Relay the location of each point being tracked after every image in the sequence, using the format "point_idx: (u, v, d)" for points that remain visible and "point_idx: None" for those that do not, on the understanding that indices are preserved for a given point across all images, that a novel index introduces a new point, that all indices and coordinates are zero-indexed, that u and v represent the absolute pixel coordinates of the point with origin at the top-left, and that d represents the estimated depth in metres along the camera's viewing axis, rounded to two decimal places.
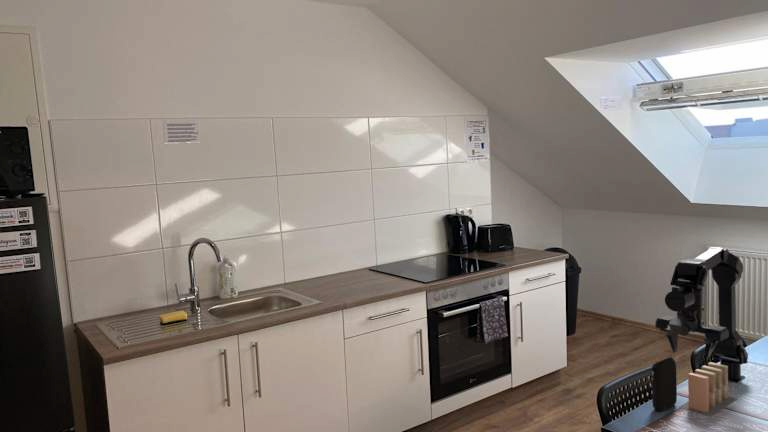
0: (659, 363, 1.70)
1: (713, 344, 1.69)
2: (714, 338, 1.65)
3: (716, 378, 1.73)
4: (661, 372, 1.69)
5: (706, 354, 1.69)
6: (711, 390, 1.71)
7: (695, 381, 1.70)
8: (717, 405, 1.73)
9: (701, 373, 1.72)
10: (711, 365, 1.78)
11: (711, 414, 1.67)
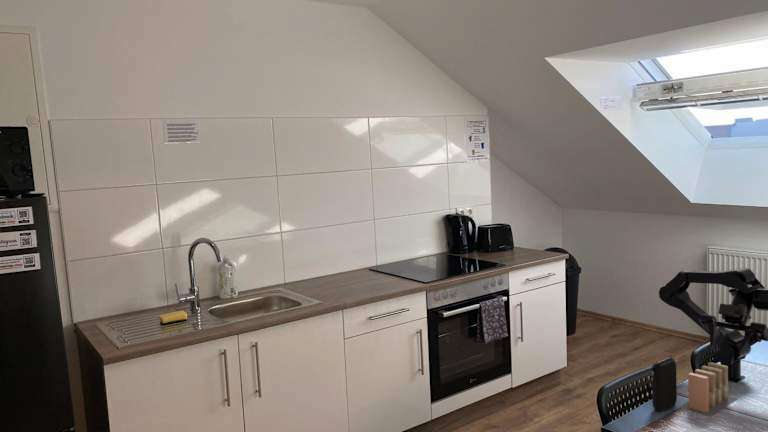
0: (659, 363, 1.70)
1: (750, 342, 1.77)
2: (758, 327, 1.74)
3: (716, 378, 1.73)
4: (661, 372, 1.69)
5: (741, 346, 1.76)
6: (711, 390, 1.71)
7: (695, 381, 1.70)
8: (717, 405, 1.73)
9: (701, 373, 1.72)
10: (711, 365, 1.78)
11: (711, 414, 1.67)
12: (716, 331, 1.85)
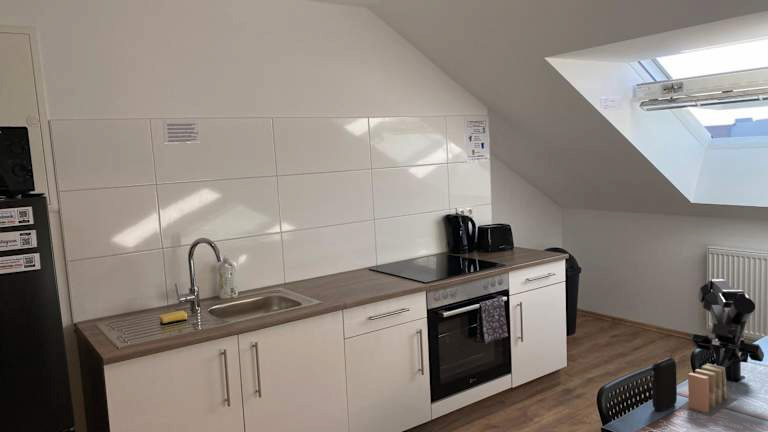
0: (659, 363, 1.70)
1: (729, 360, 1.78)
2: (752, 348, 1.72)
3: (716, 378, 1.73)
4: (661, 372, 1.69)
5: (721, 364, 1.77)
6: (711, 390, 1.71)
7: (695, 381, 1.70)
8: (717, 405, 1.73)
9: (701, 373, 1.72)
10: None
11: (711, 414, 1.67)
12: (722, 353, 1.80)
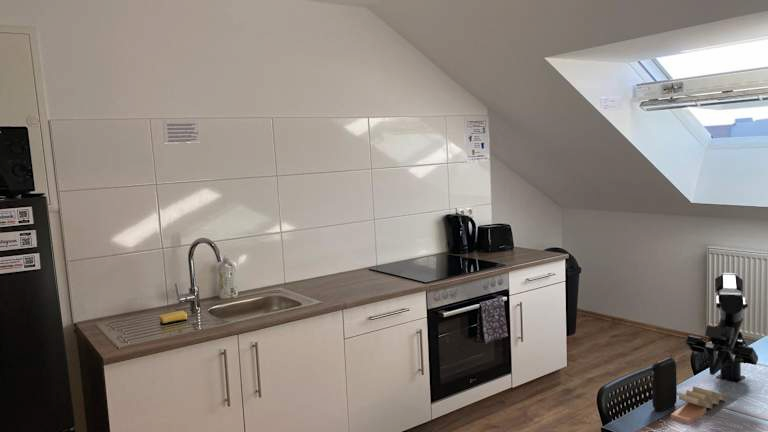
0: (659, 363, 1.70)
1: (723, 363, 1.76)
2: (746, 351, 1.70)
3: None
4: (661, 372, 1.69)
5: (714, 367, 1.75)
6: None
7: None
8: (717, 405, 1.73)
9: (686, 401, 1.67)
10: (696, 392, 1.73)
11: (711, 414, 1.67)
12: (715, 356, 1.78)
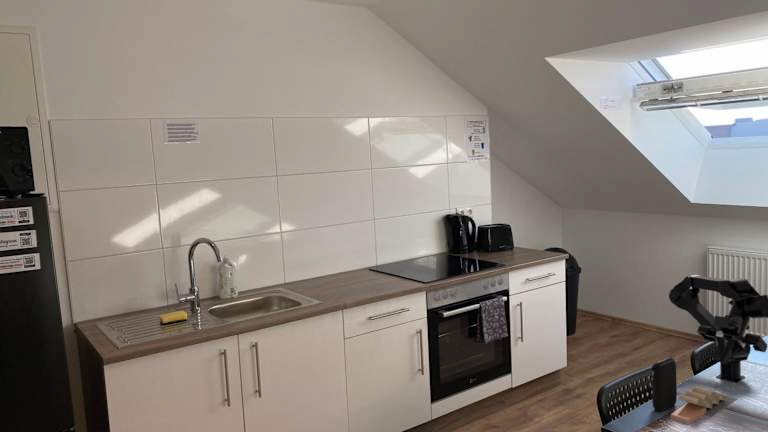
0: (659, 363, 1.70)
1: (733, 351, 1.81)
2: (753, 339, 1.74)
3: None
4: (661, 372, 1.69)
5: (724, 355, 1.80)
6: None
7: None
8: (717, 405, 1.73)
9: (686, 401, 1.67)
10: (696, 392, 1.73)
11: (711, 414, 1.67)
12: (726, 345, 1.83)
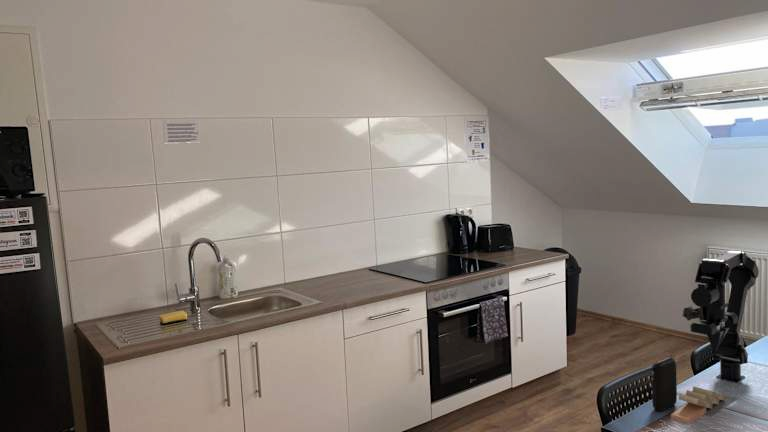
0: (659, 363, 1.70)
1: (715, 336, 1.80)
2: None
3: None
4: (661, 372, 1.69)
5: None
6: None
7: None
8: (717, 405, 1.73)
9: (686, 401, 1.67)
10: (696, 392, 1.73)
11: (711, 414, 1.67)
12: None
